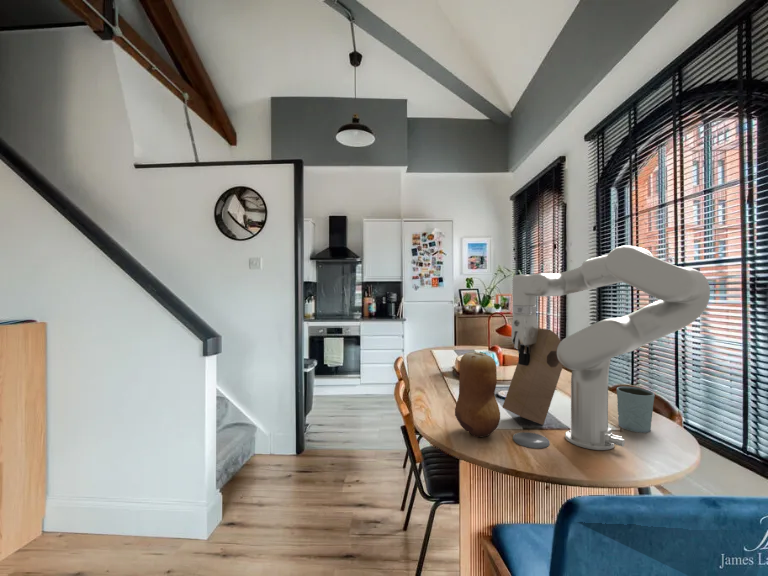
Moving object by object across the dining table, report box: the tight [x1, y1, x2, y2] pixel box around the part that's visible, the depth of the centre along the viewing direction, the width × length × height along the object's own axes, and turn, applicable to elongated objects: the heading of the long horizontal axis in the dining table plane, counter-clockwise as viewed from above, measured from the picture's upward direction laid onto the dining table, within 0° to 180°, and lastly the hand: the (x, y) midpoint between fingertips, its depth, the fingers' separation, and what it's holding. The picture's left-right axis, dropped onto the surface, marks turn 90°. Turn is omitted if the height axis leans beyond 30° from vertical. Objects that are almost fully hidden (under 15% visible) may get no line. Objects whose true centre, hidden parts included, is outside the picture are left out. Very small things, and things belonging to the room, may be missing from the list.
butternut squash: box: [454, 352, 501, 438], centre depth 112 cm, size 14×13×25 cm
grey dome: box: [512, 431, 551, 449], centre depth 107 cm, size 10×10×1 cm
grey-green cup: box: [616, 386, 656, 433], centre depth 117 cm, size 10×10×12 cm
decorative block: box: [502, 327, 564, 426], centre depth 124 cm, size 10×10×30 cm
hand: (524, 364), depth 123 cm, fingers closed
